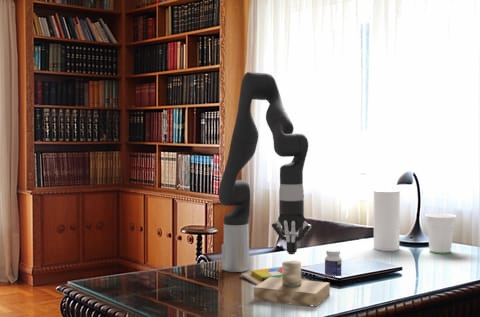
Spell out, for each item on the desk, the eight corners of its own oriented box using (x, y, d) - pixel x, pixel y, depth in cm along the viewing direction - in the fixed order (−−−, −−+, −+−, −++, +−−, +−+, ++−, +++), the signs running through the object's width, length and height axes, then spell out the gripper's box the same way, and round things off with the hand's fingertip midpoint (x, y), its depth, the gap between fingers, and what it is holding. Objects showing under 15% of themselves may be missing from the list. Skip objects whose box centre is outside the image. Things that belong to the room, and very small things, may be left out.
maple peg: (279, 297, 200) (279, 263, 199) (286, 292, 205) (286, 259, 205) (297, 299, 198) (297, 265, 197) (303, 294, 203) (303, 261, 202)
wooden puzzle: (265, 291, 212) (264, 280, 212) (239, 278, 229) (239, 269, 228) (310, 284, 219) (310, 274, 219) (282, 273, 236) (282, 263, 236)
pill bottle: (341, 281, 222) (340, 252, 221) (324, 280, 223) (324, 251, 222) (341, 277, 227) (341, 249, 227) (325, 276, 228) (325, 248, 228)
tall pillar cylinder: (401, 250, 272) (402, 191, 270) (376, 251, 272) (376, 191, 270) (396, 245, 282) (396, 188, 281) (371, 246, 282) (371, 189, 281)
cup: (459, 250, 271) (459, 214, 270) (451, 256, 260) (451, 218, 259) (429, 247, 277) (429, 212, 276) (420, 252, 267) (420, 216, 266)
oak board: (253, 299, 199) (253, 287, 199) (270, 289, 212) (270, 276, 212) (315, 307, 191) (315, 293, 191) (329, 295, 204) (329, 282, 204)
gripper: (267, 198, 199) (267, 254, 200) (308, 200, 194) (308, 257, 195) (275, 196, 206) (276, 250, 207) (315, 197, 200) (316, 253, 201)
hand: (291, 253), depth 201 cm, fingers closed
